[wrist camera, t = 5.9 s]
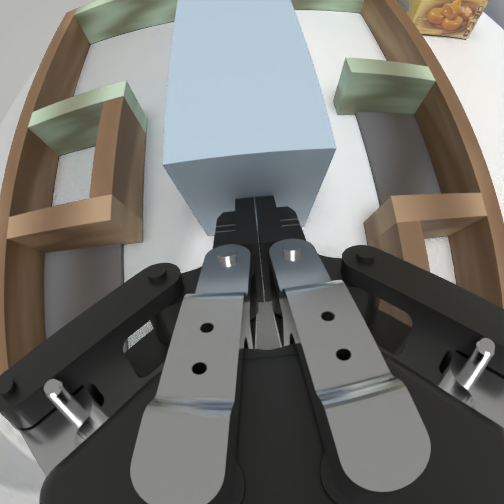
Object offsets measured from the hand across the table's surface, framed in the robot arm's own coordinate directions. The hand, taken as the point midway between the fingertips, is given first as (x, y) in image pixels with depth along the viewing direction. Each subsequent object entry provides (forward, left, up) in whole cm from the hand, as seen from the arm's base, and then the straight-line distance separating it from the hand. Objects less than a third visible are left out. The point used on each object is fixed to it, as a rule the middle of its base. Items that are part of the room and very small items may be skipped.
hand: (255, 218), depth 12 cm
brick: (0, +6, -4) cm, 7 cm away
